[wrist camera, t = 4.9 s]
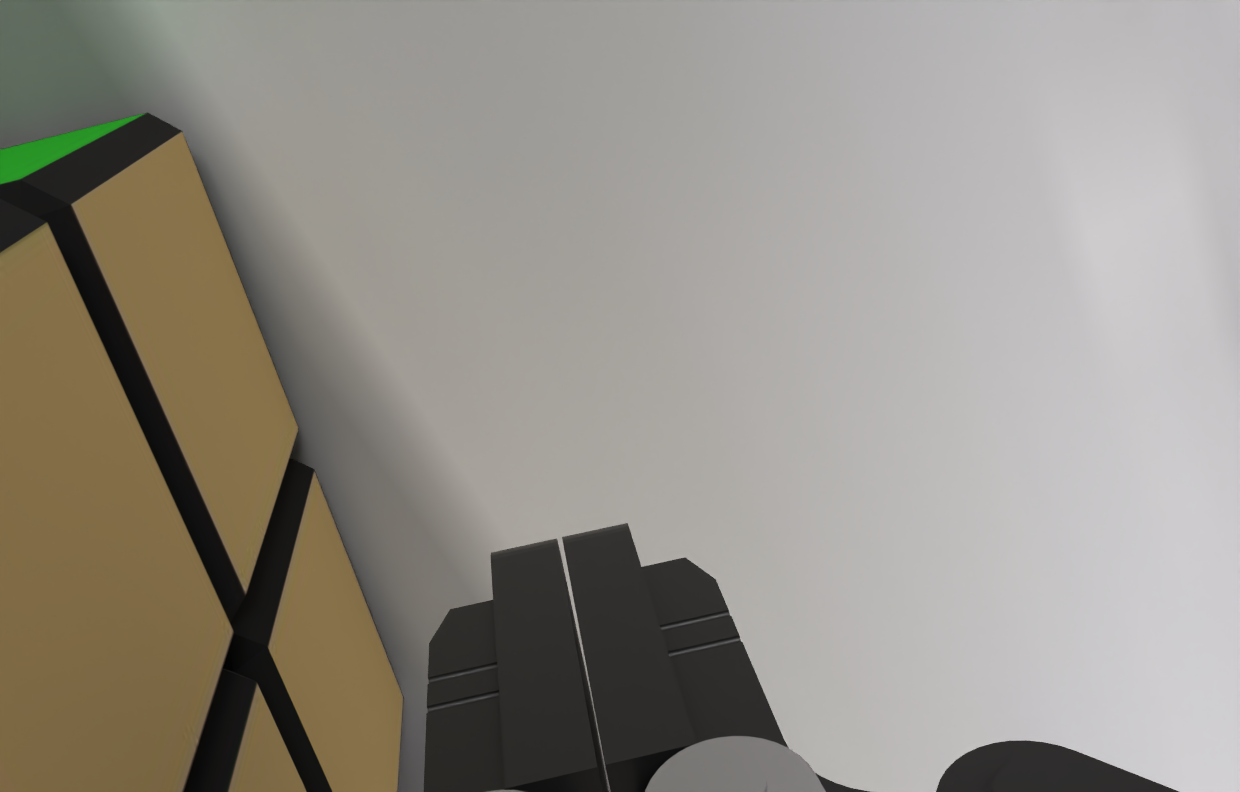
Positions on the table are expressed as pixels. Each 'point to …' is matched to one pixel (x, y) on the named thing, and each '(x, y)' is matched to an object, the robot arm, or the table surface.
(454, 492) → the table surface
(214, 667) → the puzzle cube
